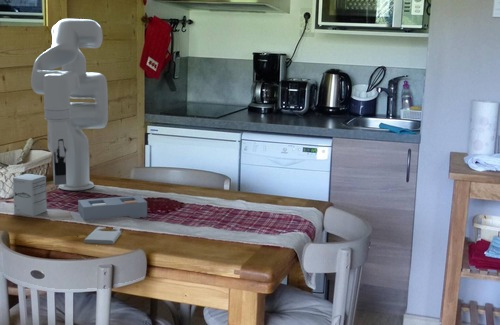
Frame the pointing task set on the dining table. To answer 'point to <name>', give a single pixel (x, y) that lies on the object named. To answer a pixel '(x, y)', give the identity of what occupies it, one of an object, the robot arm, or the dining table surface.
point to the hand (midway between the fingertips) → (59, 172)
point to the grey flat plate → (60, 216)
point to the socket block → (113, 207)
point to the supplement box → (29, 194)
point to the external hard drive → (103, 236)
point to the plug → (61, 178)
